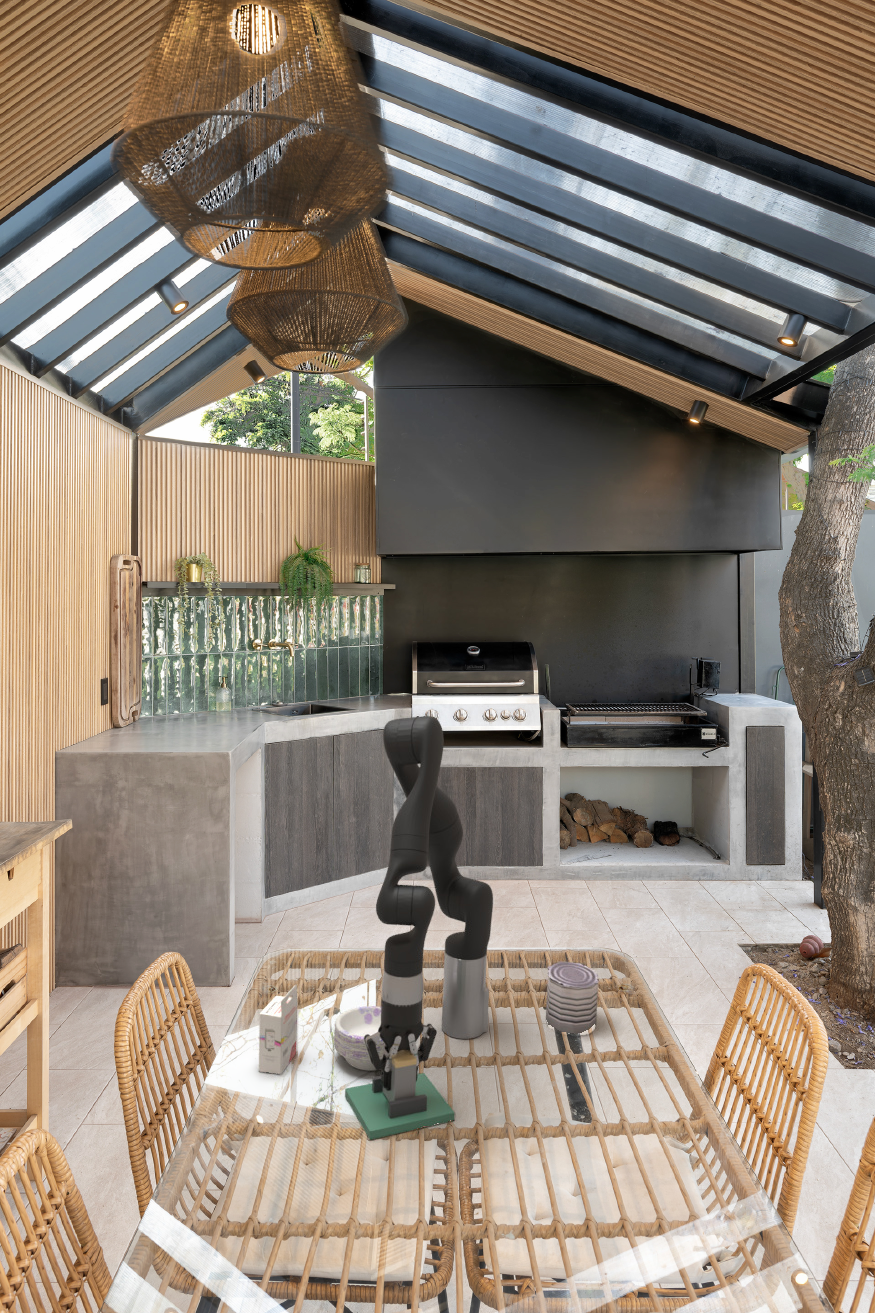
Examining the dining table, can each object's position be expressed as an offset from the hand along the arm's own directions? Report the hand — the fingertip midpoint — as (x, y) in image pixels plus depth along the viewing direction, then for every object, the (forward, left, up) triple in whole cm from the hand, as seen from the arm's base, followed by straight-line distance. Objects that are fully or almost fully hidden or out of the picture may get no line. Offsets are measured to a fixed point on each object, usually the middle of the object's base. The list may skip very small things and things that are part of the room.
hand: (398, 1085), depth 155 cm
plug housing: (0, 0, -2) cm, 2 cm away
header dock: (0, 0, -4) cm, 4 cm away
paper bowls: (-1, -18, -5) cm, 19 cm away
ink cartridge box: (+17, -23, -5) cm, 29 cm away
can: (-48, -17, -5) cm, 51 cm away
